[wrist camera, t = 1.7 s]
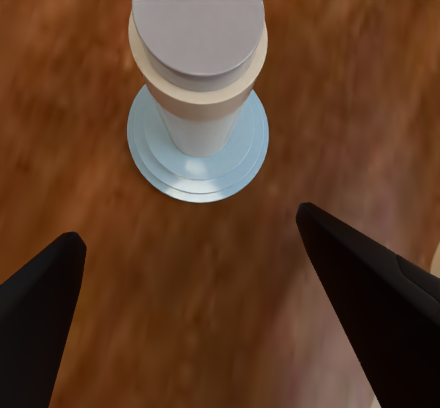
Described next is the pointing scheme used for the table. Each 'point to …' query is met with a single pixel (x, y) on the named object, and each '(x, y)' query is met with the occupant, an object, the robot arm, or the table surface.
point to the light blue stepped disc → (196, 166)
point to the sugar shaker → (199, 65)
